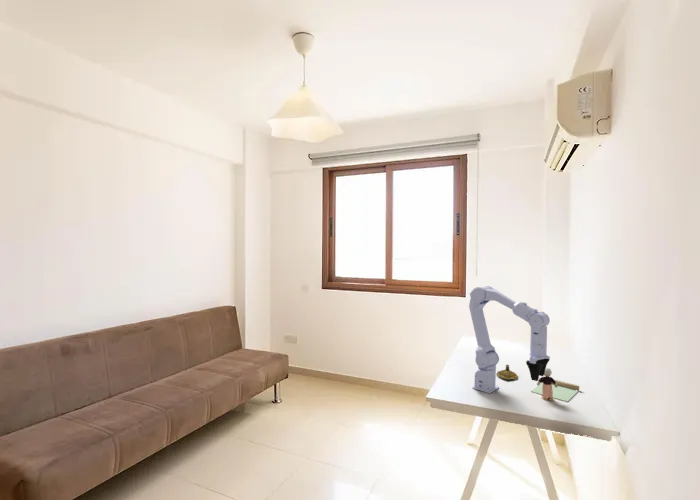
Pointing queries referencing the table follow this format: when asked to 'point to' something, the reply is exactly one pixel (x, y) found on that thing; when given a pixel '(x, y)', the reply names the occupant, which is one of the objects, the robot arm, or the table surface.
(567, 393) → the felt mat
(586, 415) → the table surface
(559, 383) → the beech stop strip
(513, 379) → the seal
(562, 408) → the table surface
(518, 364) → the table surface
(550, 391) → the grandmother figurine
